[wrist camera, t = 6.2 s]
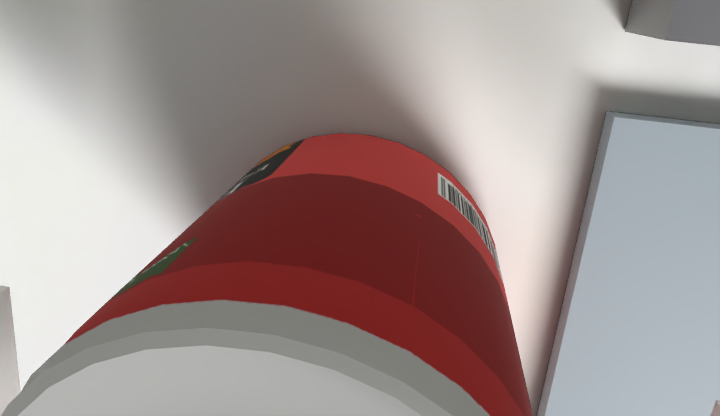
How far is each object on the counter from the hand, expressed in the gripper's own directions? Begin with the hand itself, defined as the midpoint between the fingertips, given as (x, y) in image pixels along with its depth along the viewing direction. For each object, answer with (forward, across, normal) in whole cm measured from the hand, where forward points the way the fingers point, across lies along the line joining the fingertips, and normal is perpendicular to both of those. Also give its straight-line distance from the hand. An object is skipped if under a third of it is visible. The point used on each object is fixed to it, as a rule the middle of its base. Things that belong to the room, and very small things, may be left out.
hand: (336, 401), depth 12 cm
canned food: (+7, -1, 0) cm, 7 cm away
